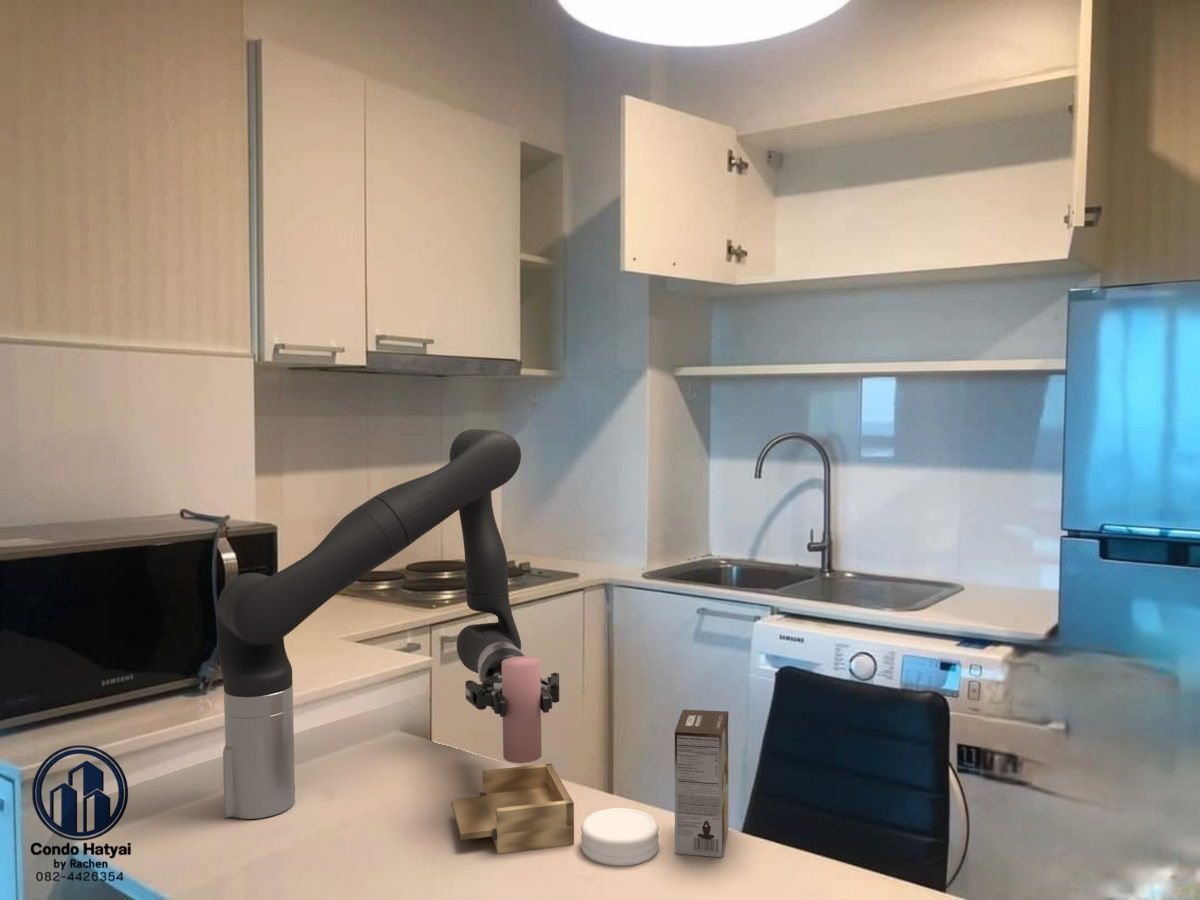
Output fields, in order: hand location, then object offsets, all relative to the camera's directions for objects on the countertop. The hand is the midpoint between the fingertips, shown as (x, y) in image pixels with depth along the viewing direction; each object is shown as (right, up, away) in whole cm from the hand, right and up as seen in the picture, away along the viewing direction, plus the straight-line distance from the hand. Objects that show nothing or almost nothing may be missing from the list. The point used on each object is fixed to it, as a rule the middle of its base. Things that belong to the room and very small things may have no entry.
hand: (525, 707), depth 125 cm
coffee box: (+23, -17, -2) cm, 29 cm away
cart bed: (-2, -17, +2) cm, 17 cm away
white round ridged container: (+13, -18, -4) cm, 22 cm away
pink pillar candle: (-1, -7, +3) cm, 8 cm away
